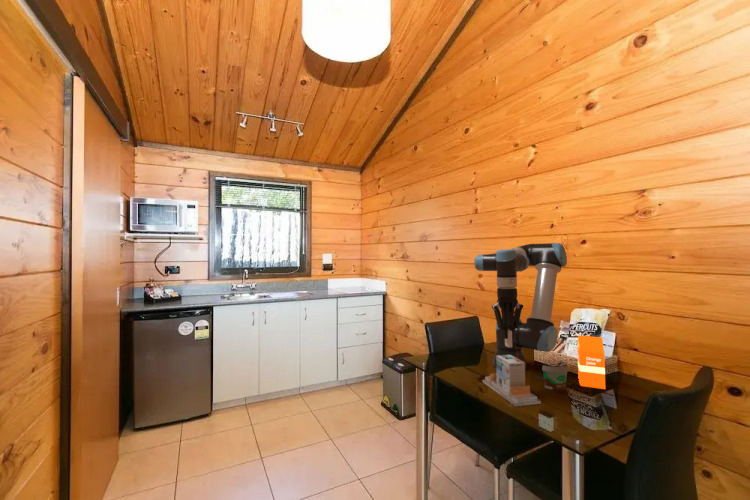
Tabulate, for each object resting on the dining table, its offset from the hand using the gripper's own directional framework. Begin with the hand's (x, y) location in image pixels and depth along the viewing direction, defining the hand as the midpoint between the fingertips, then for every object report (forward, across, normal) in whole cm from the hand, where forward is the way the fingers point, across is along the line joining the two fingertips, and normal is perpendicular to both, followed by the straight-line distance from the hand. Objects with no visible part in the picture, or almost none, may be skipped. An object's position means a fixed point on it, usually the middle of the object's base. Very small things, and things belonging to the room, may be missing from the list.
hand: (508, 346), depth 133 cm
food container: (+19, +20, -2) cm, 28 cm away
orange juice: (+19, +38, 0) cm, 42 cm away
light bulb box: (+16, 0, 0) cm, 16 cm away
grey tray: (+18, 0, 0) cm, 18 cm away
